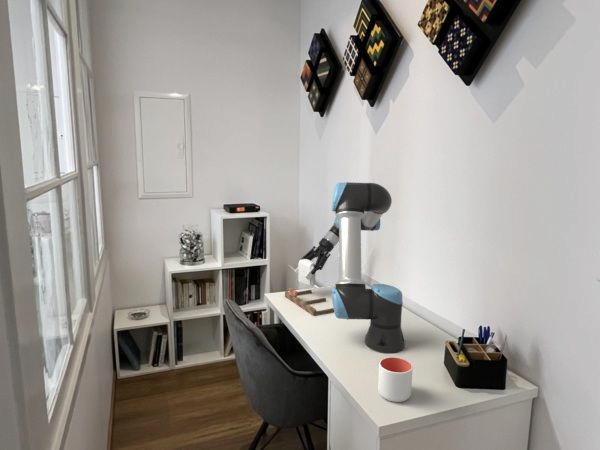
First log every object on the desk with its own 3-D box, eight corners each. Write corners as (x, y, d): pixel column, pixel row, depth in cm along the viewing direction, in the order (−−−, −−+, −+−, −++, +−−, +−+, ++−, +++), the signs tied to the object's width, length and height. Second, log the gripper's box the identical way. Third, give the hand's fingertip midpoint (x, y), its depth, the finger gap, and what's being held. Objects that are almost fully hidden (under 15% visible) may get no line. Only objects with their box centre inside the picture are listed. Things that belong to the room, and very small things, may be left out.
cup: (395, 407, 126) (397, 376, 125) (371, 392, 134) (372, 362, 133) (417, 396, 132) (419, 366, 130) (392, 382, 140) (394, 354, 138)
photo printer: (296, 281, 219) (297, 258, 217) (303, 280, 222) (303, 257, 220) (310, 286, 212) (310, 262, 209) (316, 285, 214) (317, 261, 212)
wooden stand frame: (341, 310, 202) (341, 298, 201) (313, 316, 195) (313, 303, 194) (310, 292, 228) (310, 281, 227) (285, 296, 221) (285, 285, 220)
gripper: (345, 251, 211) (317, 286, 207) (321, 242, 231) (295, 274, 226) (336, 241, 208) (308, 277, 203) (313, 233, 227) (286, 265, 223)
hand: (301, 275), depth 215 cm, fingers closed on photo printer, 10 cm apart
